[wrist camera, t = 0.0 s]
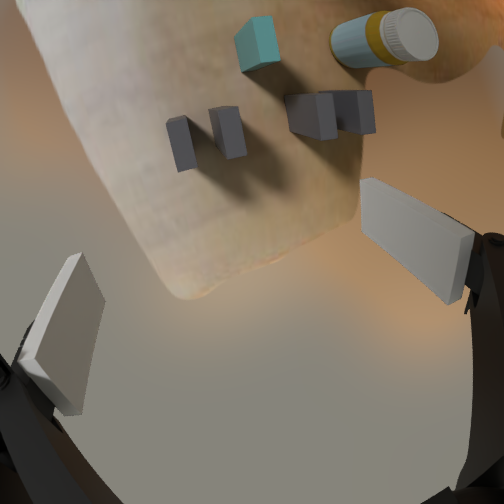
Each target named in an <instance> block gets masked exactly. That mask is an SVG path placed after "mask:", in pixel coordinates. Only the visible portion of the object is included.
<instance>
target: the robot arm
mask: <svg viewBox="0 0 504 504" xmlns="http://www.w3.org/2000/svg"><path fill="white" fill-rule="evenodd" d="M360 194H361V223H362V232H363V233H364V234H365V235H367V236H368V237H369V238H370V239H372V240H373V241H374V242H375V243H377V244H378V245H379V246H380V247H381V248H383V249H384V250H385V251H386V252H387V253H389V254H390V255H391V256H392V257H393V258H395V259H396V260H397V261H398V262H399V263H401V264H402V265H403V266H404V267H405V268H407V269H408V270H409V271H410V272H411V273H412V274H413V275H414V276H416V277H417V278H418V279H419V280H420V281H421V282H423V283H424V284H425V285H426V286H427V287H428V288H429V289H430V290H431V291H433V292H434V293H435V294H436V295H437V296H438V297H439V298H440V299H441V300H442V301H443V302H445V303H446V304H447V305H450V304H452V303H454V302H455V301H457V300H459V299H461V297H462V294H463V290H464V285H466V286H467V287H468V288H470V289H471V290H470V294H469V297H468V301H467V304H466V308H465V312H464V314H467V312H468V310H469V309H470V317H471V329H472V346H473V347H472V348H473V400H472V417H471V430H470V439H469V449H468V455H467V459H466V462H465V464H464V466H463V469H462V470H461V472H460V475H459V478H458V481H457V485H456V489H455V490H454V491H451V489H450V487H449V486H448V487H447V488H445V489H444V490H442V491H441V492H439V493H437V494H436V495H435V496H433V497H431V498H430V499H428V500H426V501H424V502H423V503H421V504H504V235H502V234H498V233H485V234H484V235H483V236H482V235H481V234H479V233H477V232H476V231H474V230H472V229H471V228H469V227H468V226H466V225H464V224H462V223H460V222H459V221H457V220H455V219H454V218H452V217H450V216H449V215H447V214H445V213H442V212H440V211H438V210H436V209H434V208H432V207H430V206H429V205H427V204H425V203H423V202H421V201H419V200H418V199H415V198H414V197H412V196H410V195H408V194H406V193H404V192H402V191H400V190H398V189H396V188H394V187H392V186H390V185H388V184H386V183H384V182H382V181H380V180H378V179H376V178H374V177H371V178H366V179H361V180H360ZM105 302H106V301H105V299H104V297H103V295H102V293H101V291H100V289H99V287H98V285H97V283H96V281H95V278H94V276H93V274H92V272H91V270H90V268H89V265H88V263H87V261H86V259H85V256H84V254H83V252H81V253H78V254H75V255H72V256H69V257H68V259H67V261H66V262H65V264H64V266H63V268H62V269H61V271H60V273H59V275H58V276H57V278H56V280H55V282H54V284H53V286H52V287H51V289H50V291H49V293H48V295H47V297H46V299H45V301H44V303H43V305H42V307H41V309H40V311H39V313H38V315H37V317H36V319H35V320H34V321H33V322H32V323H31V325H30V326H29V327H28V328H27V330H26V333H25V335H24V337H23V340H22V341H21V344H20V347H19V348H18V350H17V353H16V355H15V357H14V360H13V362H12V365H11V367H10V366H9V365H8V363H7V362H6V361H5V359H4V358H3V357H2V356H1V354H0V504H123V503H122V502H121V500H120V499H119V498H118V497H117V496H116V495H115V494H114V493H113V492H112V491H111V489H110V488H109V487H108V486H107V485H106V484H105V482H104V481H103V480H102V479H101V478H100V477H99V475H98V474H97V473H96V472H95V470H94V469H93V468H92V467H91V465H90V464H89V463H88V462H87V460H86V459H85V458H84V456H83V455H82V454H81V452H80V451H79V450H78V448H77V447H76V445H75V444H74V443H73V441H72V440H71V438H70V437H69V435H68V434H67V433H66V431H65V430H64V428H63V427H62V425H61V424H60V422H59V421H58V420H57V419H56V418H55V417H54V416H53V412H54V408H55V407H56V408H57V409H58V410H59V411H60V412H61V413H62V414H63V415H64V416H74V415H82V410H83V403H84V397H85V392H86V386H87V381H88V375H89V370H90V365H91V360H92V355H93V351H94V346H95V342H96V337H97V333H98V329H99V325H100V320H101V317H102V313H103V309H104V305H105Z"/></svg>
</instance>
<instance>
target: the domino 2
mask: <svg viewBox="0 0 504 504" xmlns="http://www.w3.org/2000/svg"><path fill="white" fill-rule="evenodd" d="M208 111H209V116H210V120H211V125H212V130H213V134H214V139H215V143H216V147H217V148H218V149H219V150H220V151H221V153H222V154H223V155H224V156H225V157H226V158H227V159H233V158H237V157H241V156H246V155H247V150H246V144H245V139H244V134H243V129H242V124H241V119H240V114H239V109H238V106H221V107H216V108H212V109H208Z"/></svg>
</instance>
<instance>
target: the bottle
mask: <svg viewBox="0 0 504 504" xmlns="http://www.w3.org/2000/svg"><path fill="white" fill-rule="evenodd" d="M329 45H330V49H331V52H332V54H333V55H334V57H335V58H336V59H337V60H338V61H339V62H340V63H341V64H343V65H344V66H346V67H349V68H366V67H379V66H395V65H403V64H405V63H407V62H409V61H427V60H429V59H431V58H433V57H434V56H435V54H436V53H437V50H438V46H439V39H438V34H437V31H436V28H435V26H434V24H433V22H432V21H431V20H430V18H429V17H428V16H427V15H426V14H425V13H423V12H422V11H420V10H418V9H416V8H410V7H409V8H408V7H407V8H403V9H399V10H395V11H378V12H375V13H372V14H368V15H365V16H362V17H359V18H356V19H353V20H351V21H348V22H345V23H342V24H340V25H338V26H336V27H335V28H334V29H333V30H332V32H331V34H330V37H329Z"/></svg>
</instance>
